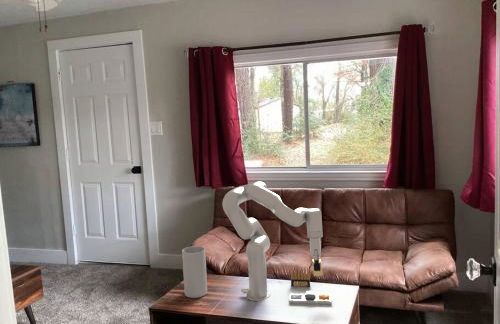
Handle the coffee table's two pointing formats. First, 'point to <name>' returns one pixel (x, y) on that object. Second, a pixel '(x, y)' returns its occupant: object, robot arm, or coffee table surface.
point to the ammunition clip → (301, 281)
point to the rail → (318, 300)
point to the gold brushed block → (318, 273)
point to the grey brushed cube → (309, 295)
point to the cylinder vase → (194, 271)
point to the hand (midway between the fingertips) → (317, 268)
